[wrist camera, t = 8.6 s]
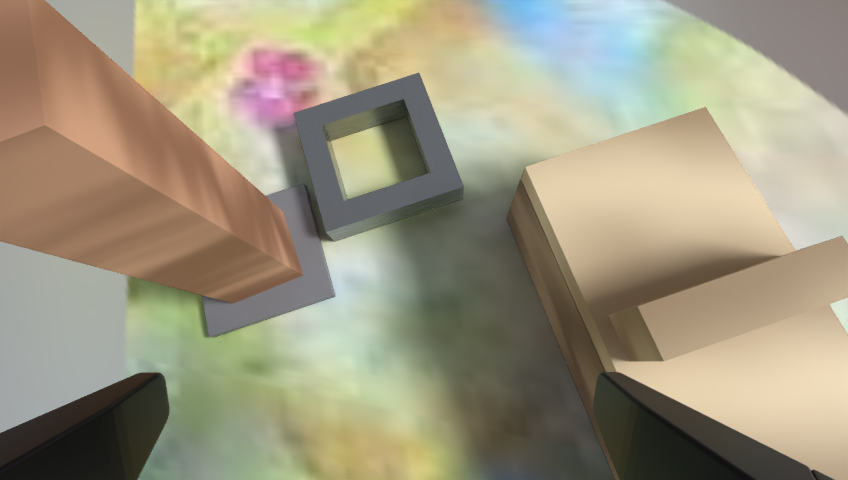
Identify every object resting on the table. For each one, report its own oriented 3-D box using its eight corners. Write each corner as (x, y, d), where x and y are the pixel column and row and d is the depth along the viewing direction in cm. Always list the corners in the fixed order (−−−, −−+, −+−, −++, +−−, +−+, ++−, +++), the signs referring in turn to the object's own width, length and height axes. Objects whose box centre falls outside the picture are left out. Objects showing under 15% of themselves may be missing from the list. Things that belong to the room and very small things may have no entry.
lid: (908, 482, 12) (1058, 521, 9) (688, 561, 12) (768, 629, 9) (690, 122, 16) (746, 65, 13) (520, 178, 16) (537, 134, 13)
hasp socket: (462, 198, 21) (463, 186, 19) (334, 241, 20) (325, 232, 19) (421, 90, 23) (419, 72, 21) (303, 129, 22) (293, 113, 21)
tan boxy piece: (806, 470, 16) (928, 508, 12) (631, 533, 16) (694, 594, 12) (644, 171, 20) (694, 121, 16) (502, 219, 20) (515, 181, 16)
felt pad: (335, 296, 20) (332, 295, 19) (213, 337, 19) (209, 336, 19) (306, 186, 21) (303, 183, 21) (194, 223, 21) (189, 220, 21)
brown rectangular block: (303, 275, 20) (45, 125, 7) (233, 303, 19) (-155, 199, 7) (283, 211, 21) (25, -17, 8) (216, 237, 20) (-149, 45, 8)
